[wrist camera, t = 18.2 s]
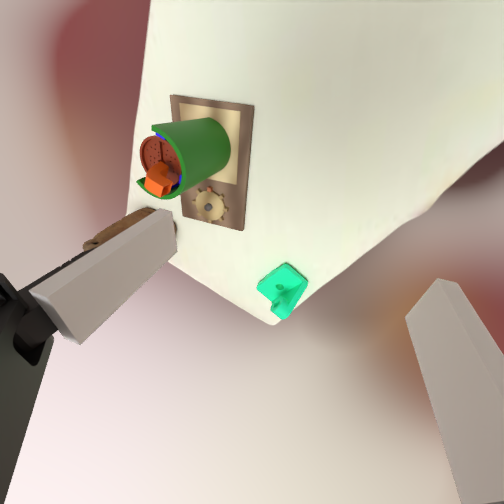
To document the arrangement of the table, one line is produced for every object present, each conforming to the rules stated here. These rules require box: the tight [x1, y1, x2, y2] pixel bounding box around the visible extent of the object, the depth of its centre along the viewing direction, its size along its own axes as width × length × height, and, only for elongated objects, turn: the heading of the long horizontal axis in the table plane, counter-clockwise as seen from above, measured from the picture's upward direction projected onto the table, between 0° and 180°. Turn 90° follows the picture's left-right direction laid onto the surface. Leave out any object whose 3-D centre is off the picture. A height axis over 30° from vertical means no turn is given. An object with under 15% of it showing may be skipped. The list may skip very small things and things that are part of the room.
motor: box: [136, 117, 231, 199], centre depth 35 cm, size 10×9×20 cm
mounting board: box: [170, 95, 254, 231], centre depth 46 cm, size 16×25×3 cm, turn 175°
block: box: [83, 208, 176, 251], centre depth 53 cm, size 11×8×20 cm
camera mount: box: [257, 264, 308, 320], centre depth 55 cm, size 12×8×10 cm, turn 142°
